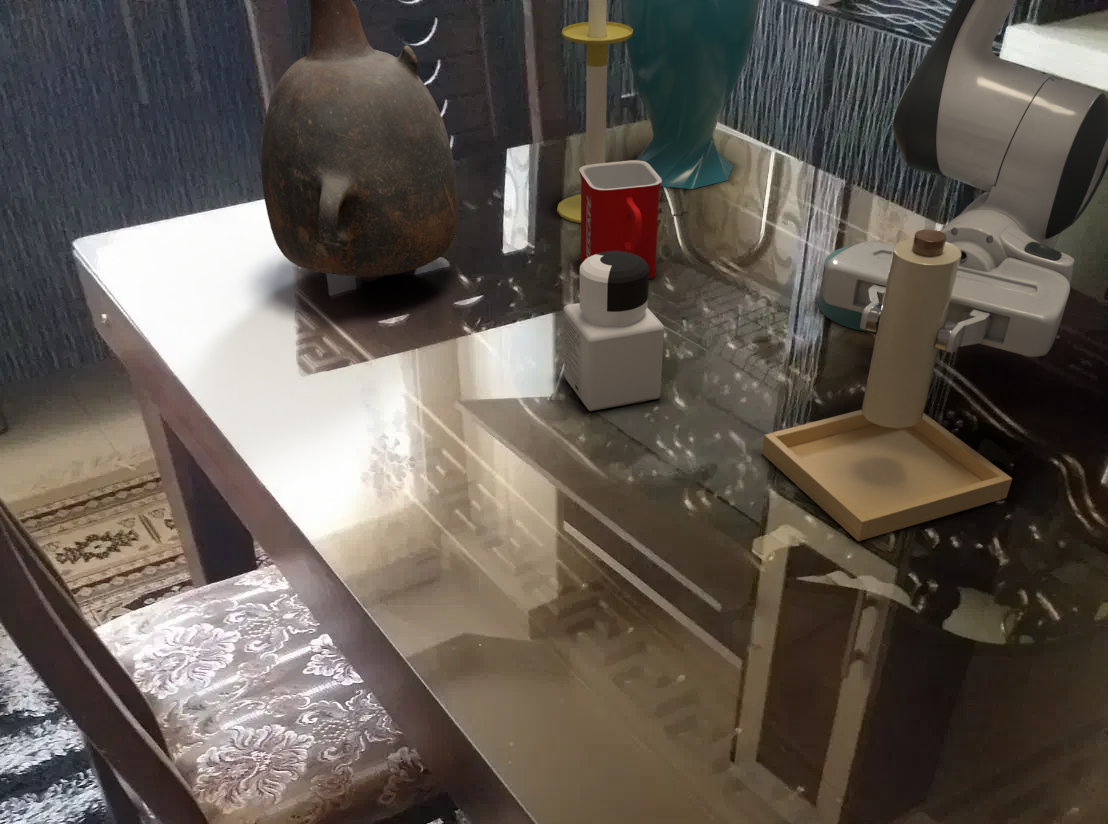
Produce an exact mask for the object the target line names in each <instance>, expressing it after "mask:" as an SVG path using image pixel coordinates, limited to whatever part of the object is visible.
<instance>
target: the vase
mask: <svg viewBox="0 0 1108 824" xmlns="http://www.w3.org/2000/svg"><path fill="white" fill-rule="evenodd" d="M760 6H761V0H621V11H622V24H624V25H627V26H629V27H631V28H632V29H633V34H632V37H631V38H629V39H627V40H625V44H626V50H627V54H628V60H629V63H630V67H631V71H632V75H633V78H634V82H635V85H636V88H637V91H638V94H639V97H640V99H641V102H642V105H643V107H644V110H645V112H646V115H647V117H648V120H649V123H650V126H651V131H652V139H651V141H650V142H649V144H648V146H646V148H645V149H644V150H643V151H642V152H641V153H640V155H638V156H637V157H636V158H635V159H634V160H639V161H644V162H647V163H648V164H650V166H651V167H652V168H653V169H654V170H655V172H656V173H657V174H658V175H659V177H660V178H661V179H662V183H661V186H660V187H662V188H664V187H665V188H674V189H675V188H677V189H687V190H694V189H699V188H701V187H706V186H710V185H714V184H719V183H722V182H726V181H728V180H729V177H730V175H731V172H732V170H733V168H734V165H733V164H732V163H730V161H729V160H728V159H727V158H726V157H724V156H723V155H722V154H721V153H720V152H719V151H718V150H717V146H716V144H715V143H716V142H715V139H714V133H715V130H716V127H717V124H718V123H719V121H720V118H721V116H722V114H723V112H724V110H725V108H726V107H727V104H728V102H729V100H730V98H731V95H732V94H733V91H734V89H735V87H736V85H737V84H738V81H739V80H740V76H741V74H742V73H743V70H744V68H745V64H746V62H747V59H748V56H749V53H750V49H751V47H752V43H753V40H754V36H755V33H756V27H757V24H758V18H759V13H760Z"/></svg>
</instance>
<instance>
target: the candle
mask: <svg viewBox="0 0 1108 824" xmlns="http://www.w3.org/2000/svg"><path fill="white" fill-rule="evenodd" d="M607 10H608V0H588V21H583V22H577V23H573V24H569V25H567V26H565V27H563V28H562V31H561V36H562V38H564V39H565V40H566V41H569V42H572V43H576V44H582V45H586V75H585V76H586V83H585V84H586V89H585V90H586V91H585V95H586V96H585V97H586V98H585V99H586V100H585V101H586V102H585V117H586V118H585V165H590V164H600V163H606V155H607V154H606V153H607V152H606V148H607V147H606V145H607V142H606V141H607V99H608V98H607V92H608V49H609V48H608V47H609V45H612V44H617V43H621V42H626V40H627V39H629V38H631V37H632V34H633V29H632V28H631V27H629V26H627V25H624V24H623V23H620V22H614V21H607V19H608V18H607V16H608V15H607V14H608V13H607V12H608V11H607ZM556 213H557V214H558V215H559V216H560V217H561V218H562V219H564V220H567V221H569V222H572V223H576V224H581V193H579V194H576V195H572V196H569V197H565V198H564V199H563V200H561V201H560V202H559V203H558V205H557V208H556Z"/></svg>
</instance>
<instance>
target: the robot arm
mask: <svg viewBox="0 0 1108 824" xmlns="http://www.w3.org/2000/svg"><path fill="white" fill-rule="evenodd" d="M1016 1H1017V0H956V2H955V4H954V5H953V8H952V9H951V11H950V13H949V15H948V17H947V18H946V21H945V22H944V24H943V26H942V27H941V29H940V31H939V33H938V35H937V36H936V38H935V39H934V41H933V43H932V45H931V46H930V48H929V49H928V51H927V52H926V54H925V55H924V58H923V59H922V61H921V62H920V63H919V65H918V67H917V69H916V71H915V72H914V73H913V75H912V76H911V78H910V80H909V81H908V83H907V84H906V86H905V88H904V90H903V92H902V94H901V96H900V99H899V101H898V104H897V106H896V110H895V113H894V117H893V121H892V132H893V135H894V138H895V142H896V145H897V148H898V150H899V152H900V154H901V156H902V158H903V160H904V162H905V164H906V165H907V167H908V168H909V169H911V170H914V171H919V172H922V173H926V174H928V175H934V176H937V177H941V178H949V179H952V180H955V181H957V182H960V183H963V184H965V185H968V186H971V187H974V188H976V189H978V190H981V191H984V193H982V194H981V195H980V196H978V197H976V199H974V200H973V201H971V202H970V203H969V204H968V205H967V206H966V207H965V208H964V209H963V210H962V211H961V212H960V214H958V215H957V216H955V217H954V218H952V219H951V220H950V221H949V222H948V223H947V224H946V225H945V226H943V228H941V229H940V230H939V231H940V232H943V233H944V234H945V235H946V242H949V243H951V244H953V245H955V246H956V247H958V248H959V249H960V251H961V259H960V263H959V267H958V272H957V276H956V280H955V284H954V288H953V292H952V296H951V301H950V305H949V309H948V313H947V317H946V321H945V324H944V326H942V327H941V328H940V330H939V332H938V335H937V339H938V341H937V342H936V343H935V348H936V349H939V350H940V351H942V352H946V353H950V354H953V353H954V352H955V351H956V350H957V349H958V348H959V347H960V348H962V347H966V346H973V345H977V344H980V345H982V346H987V347H991V348H995V349H999V350H1003V351H1006V352H1010V353H1013V354H1017V355H1021V356H1024V357H1029V358H1037V357H1041V356H1043V357H1044V356H1045V355H1047V354H1048V353H1049V351H1051V348H1052V347H1053V345H1054V343H1055V340H1056V337H1057V334H1058V331H1059V328H1060V326H1061V322H1062V319H1063V316H1064V313H1065V310H1066V305H1067V302H1068V300H1069V296H1070V292H1071V282H1072V278H1073V273H1074V269H1075V268H1074V267H1075V259H1074V258H1073V257H1072V256H1071V255H1068V254H1066V253H1064V252H1061V251H1060V250H1059V251H1058V250H1056V249H1054V248H1055V246H1056V244H1057V242H1058V240H1059V239H1060V237H1061V234H1062V233H1063V232H1064V231H1065V230H1067V229H1069V228H1070V227H1071V226H1073V225H1074V224H1075V223H1076V222H1077V220H1078V219H1079V218H1080V217H1081V216H1082V214H1083V213H1084V212H1085V210H1086V209H1087V207H1088V205H1089V204H1090V203H1091V201H1092V199H1093V197H1094V195H1095V194H1096V192H1097V190H1098V188H1099V186H1100V184H1101V183H1102V180H1103V178H1104V176H1105V174H1106V172H1107V169H1108V97H1107V96H1106V94H1105V93H1101V92H1099V91H1097V90H1095V89H1093V88H1089V87H1087V86H1084V85H1081V84H1079V83H1076V82H1073V81H1069V80H1066V79H1064V78H1062V77H1058V76H1055V75H1052V76H1050V75H1047V74H1045V73H1042V72H1039V71H1036V70H1033V69H1030V68H1027V67H1025V66H1022V65H1019V64H1016V63H1013V62H1010V61H1008V60H1004V59H1002V58H1000V57H998V56H997V55H996V54H995V53H994V50H993V44H994V41H995V39H996V38H997V35H998V33H999V32H1000V30H1001V28H1002V26H1003V25H1004V23H1005V21H1006V19H1007V18H1008V16H1009V14H1010V12H1011V11H1012V10H1013V9H1012V8H1013V7H1014V5H1015V4H1016ZM894 244H895V243H890V242H884V241H878V240H865V241H861V242H859V243H856V244H853V245H854V246H852V247H850V248H848V249H846V250H844V251H842V252H841V253H839V254H837V255H836V256H834V257H833V258H831V259H830V260H829V261H828V263H827V265H826V269H825V273H824V278H823V285H822V296H823V298H824V300H825V302H826V303H827V304H830V305H833V306H837V307H841V308H845V309H849V310H853V311H857V312H860V313H862V318H861V323H860V329H864V330H868V331H872V332H871V333H874V332H876V334H877V329H878V324H879V318H880V313H881V308H882V303H883V298H884V293H885V288H886V283H887V278H888V273H889V268H890V263H891V258H892V253H893V248H894V246H895V245H894ZM939 350H938V351H939Z"/></svg>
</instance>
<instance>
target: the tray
mask: <svg viewBox="0 0 1108 824" xmlns="http://www.w3.org/2000/svg"><path fill="white" fill-rule="evenodd" d="M762 443H763V444H762V450H761V454H762V455H763V456H764V457H765V458H766V459H767V460H768V461H769V462H770V463H772V464H773V465H774V466H775V467H776V468H777V469H778V470H779V471H780V472H781V473H782V474H784V475H785V476H786V477H787V478H788V479H789V480H790V481H791V482H792V483H793V484H795V485H796V486H797V488H799V489H800V490H801V491H802V492H803V493H804V494H805V495H806V496H807V497H809V498H810V499H811V500H812V501H813V502H814V503H815V504H816V505H817V506H818V507H819V508H821V509H822V510H823V511H824V512H825V513H827V515H828V516H829V517H831V519H833V520H834V521H835V522H836V523H838V525H839V526H840V527H842V528H843V529H844V530H845V531H846V532H847V533H848V534H849V535H850V536H851V537H852V538H854V539H855V540H856V541H857V542H861V541H865V540H868V539H872V538H874V537H878V536H882V535H885V534H888V533H892V532H895V531H899V530H902V529H905V528H909V527H912V526H915V525H916V526H917V525H919V524H922V523H925V522H929V521H932V520H936V519H940V518H942V517H945V516H946V517H947V516H949V515H953V514H956V513H960V512H964V511H967V510H969V509H973V508H977V507H980V506H984V505H987V504H990V503H994V502H997V501H1000V500H1004V499H1007V497H1008V495H1009V491H1010V489H1011V488H1010V487H1011V484H1012V481H1013V478H1012V477H1011V476H1010V475H1008V474H1007V473H1006V472H1004V471H1003V470H1002V469H1000V468H999V467H997V466H996V465H995V464H993V463H992V462H991V461H990V460H988V459H987V458H985V457H984V456H982V455H981V454H980V453H979V452H978V451H976V450H975V449H973V448H972V447H971V446H969V445H968V444H966V443H965V442H964V441H963V440H961V439H960V438H959V437H957V436H956V435H954V434H953V433H951V432H950V431H949V430H948V429H947V428H945V427H944V426H942V425H941V424H940V423H938V422H937V421H935V420H934V419H933V418H931V417H930V416H929V415H927V414H926V413H925V412H924V413H923V417H922V419H921V420H920V422H918V423H917V424H915V425H913V426H910V427H904V428H890V427H884V426H880V425H877V424H875V423H872V422H871V421H869V420H868V419H866V418H865V417H864V415H863V414H862V409H859V410H854V411H851V412H847V413H843V414H839V415H835V416H831V417H828V418H823V419H820V420H816V421H811V422H809V423H804V424H801V425H796V426H791V427H789V428H785V429H781V430H776V431H773V432H769V433H766V434H764V435H763V442H762Z"/></svg>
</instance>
